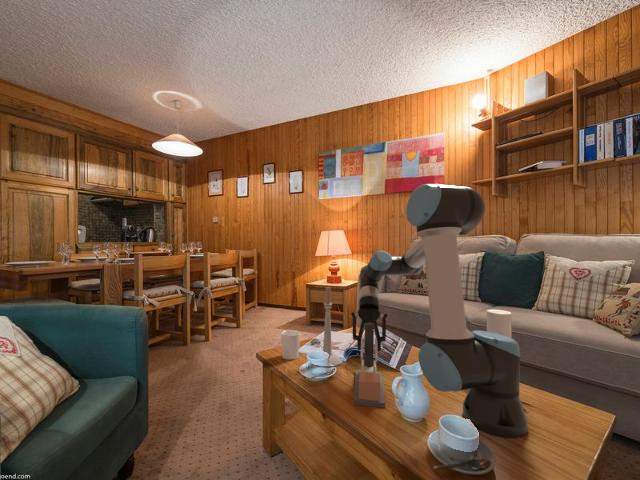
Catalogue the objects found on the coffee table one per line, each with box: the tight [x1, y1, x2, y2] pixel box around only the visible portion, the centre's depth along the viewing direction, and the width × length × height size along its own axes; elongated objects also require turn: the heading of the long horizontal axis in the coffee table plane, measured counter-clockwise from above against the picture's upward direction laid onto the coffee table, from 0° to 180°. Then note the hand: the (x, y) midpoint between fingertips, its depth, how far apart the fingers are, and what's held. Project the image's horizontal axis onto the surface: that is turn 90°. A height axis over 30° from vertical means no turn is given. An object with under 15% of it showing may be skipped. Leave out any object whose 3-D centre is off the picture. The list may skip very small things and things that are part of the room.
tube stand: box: [353, 359, 386, 408], centre depth 99 cm, size 22×9×6 cm, turn 172°
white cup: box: [280, 329, 301, 360], centre depth 125 cm, size 8×8×10 cm
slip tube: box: [364, 323, 375, 373], centre depth 102 cm, size 12×3×17 cm, turn 172°
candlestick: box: [322, 286, 344, 367], centre depth 121 cm, size 13×13×30 cm
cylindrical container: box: [486, 308, 513, 338], centre depth 101 cm, size 7×7×25 cm
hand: (369, 359), depth 101 cm, fingers open, 4 cm apart
